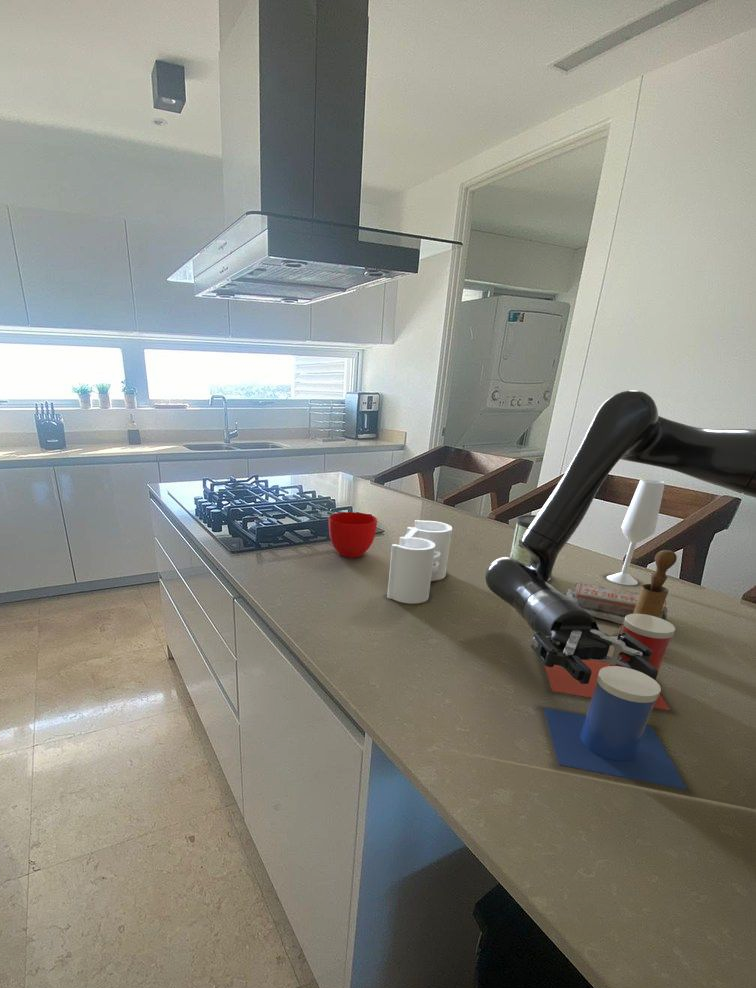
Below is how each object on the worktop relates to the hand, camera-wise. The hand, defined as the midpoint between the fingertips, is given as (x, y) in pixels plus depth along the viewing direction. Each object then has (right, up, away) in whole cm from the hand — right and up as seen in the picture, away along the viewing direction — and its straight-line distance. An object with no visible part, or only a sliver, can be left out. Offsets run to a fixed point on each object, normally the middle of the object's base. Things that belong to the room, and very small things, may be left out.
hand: (620, 678), depth 62 cm
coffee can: (+15, +16, +59) cm, 63 cm away
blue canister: (0, -9, +3) cm, 9 cm away
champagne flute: (+38, +15, +58) cm, 70 cm away
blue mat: (0, -9, +3) cm, 10 cm away
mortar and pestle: (+21, +2, +28) cm, 36 cm away
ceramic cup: (-27, +23, +74) cm, 82 cm away
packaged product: (+24, +7, +40) cm, 47 cm away
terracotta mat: (+7, -3, +17) cm, 19 cm away
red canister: (+13, -3, +17) cm, 22 cm away
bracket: (-13, +14, +53) cm, 57 cm away
